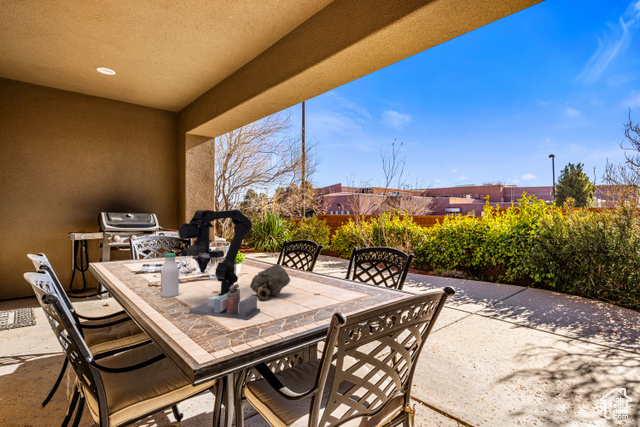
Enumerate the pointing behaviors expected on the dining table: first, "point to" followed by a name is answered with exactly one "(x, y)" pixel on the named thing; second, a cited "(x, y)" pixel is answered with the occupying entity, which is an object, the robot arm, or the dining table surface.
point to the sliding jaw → (218, 302)
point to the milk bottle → (169, 277)
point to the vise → (245, 311)
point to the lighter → (233, 299)
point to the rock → (270, 281)
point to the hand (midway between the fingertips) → (202, 272)
